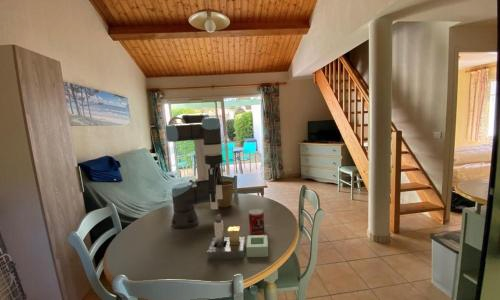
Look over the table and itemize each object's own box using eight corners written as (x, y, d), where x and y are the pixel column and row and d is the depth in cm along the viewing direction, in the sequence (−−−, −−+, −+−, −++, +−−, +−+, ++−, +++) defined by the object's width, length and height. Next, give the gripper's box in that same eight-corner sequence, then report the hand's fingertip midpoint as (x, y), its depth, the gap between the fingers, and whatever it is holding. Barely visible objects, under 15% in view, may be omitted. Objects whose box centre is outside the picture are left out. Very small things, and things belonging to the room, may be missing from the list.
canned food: (252, 236, 117) (250, 215, 116) (248, 229, 125) (246, 209, 124) (266, 233, 119) (265, 212, 118) (261, 227, 127) (260, 207, 126)
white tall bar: (217, 249, 107) (214, 213, 105) (225, 248, 107) (223, 213, 105) (215, 254, 103) (212, 217, 101) (224, 253, 103) (221, 216, 101)
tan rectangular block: (230, 248, 107) (228, 226, 106) (241, 247, 107) (239, 226, 105) (229, 253, 103) (227, 230, 102) (240, 252, 103) (239, 230, 101)
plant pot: (239, 203, 165) (238, 181, 163) (226, 210, 153) (224, 187, 151) (223, 200, 173) (221, 179, 171) (209, 207, 161) (207, 184, 159)
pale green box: (248, 244, 110) (247, 235, 109) (267, 244, 109) (267, 234, 109) (247, 257, 100) (246, 247, 99) (268, 256, 99) (267, 246, 99)
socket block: (213, 244, 111) (213, 237, 111) (245, 243, 111) (244, 236, 110) (207, 259, 99) (207, 251, 99) (243, 258, 99) (242, 250, 98)
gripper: (210, 151, 112) (214, 195, 115) (197, 159, 88) (201, 214, 91) (226, 150, 111) (229, 194, 114) (217, 158, 88) (221, 214, 90)
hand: (217, 203), depth 102 cm, fingers open, 11 cm apart
